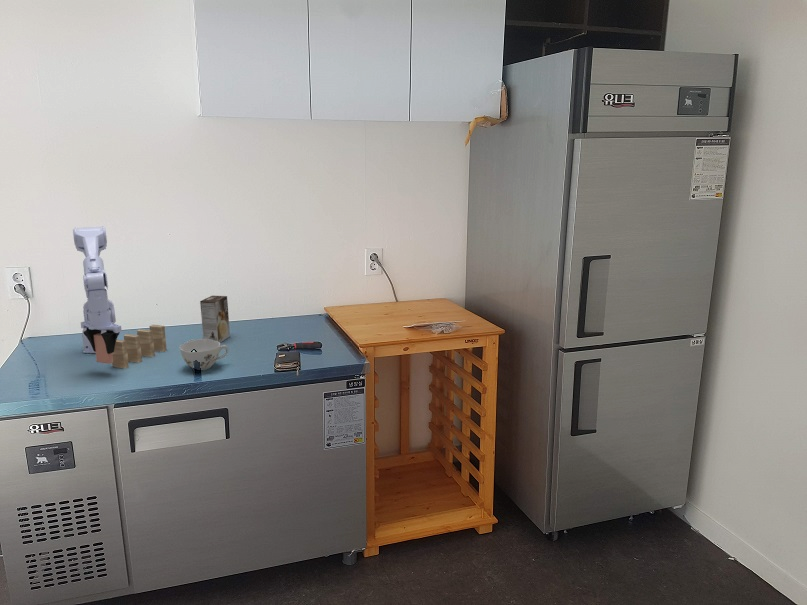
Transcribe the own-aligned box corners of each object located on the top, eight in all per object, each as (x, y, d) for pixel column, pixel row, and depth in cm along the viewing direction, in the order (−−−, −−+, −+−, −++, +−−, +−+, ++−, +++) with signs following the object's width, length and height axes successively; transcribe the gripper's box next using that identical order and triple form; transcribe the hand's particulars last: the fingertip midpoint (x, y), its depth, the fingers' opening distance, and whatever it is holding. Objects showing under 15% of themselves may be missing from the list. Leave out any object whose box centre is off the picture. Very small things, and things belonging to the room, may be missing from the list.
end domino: (109, 363, 196) (105, 336, 194) (96, 361, 198) (93, 334, 196) (113, 362, 198) (110, 335, 196) (101, 360, 199) (98, 333, 197)
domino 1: (124, 368, 203) (121, 342, 200) (112, 366, 204) (109, 340, 202) (128, 366, 204) (125, 340, 202) (116, 364, 206) (113, 339, 204)
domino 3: (151, 357, 213) (148, 332, 211) (139, 355, 215) (136, 330, 213) (154, 355, 215) (152, 330, 213) (143, 353, 217) (140, 329, 215)
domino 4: (163, 351, 219) (160, 327, 217) (151, 350, 221) (149, 325, 218) (166, 350, 221) (164, 326, 218) (155, 348, 222) (153, 324, 220)
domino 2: (138, 362, 208) (135, 337, 206) (126, 360, 210) (123, 335, 207) (142, 360, 210) (139, 335, 207) (130, 359, 211) (127, 333, 209)
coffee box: (215, 335, 238) (212, 294, 234) (230, 336, 236) (227, 295, 232) (202, 342, 229) (199, 300, 225) (218, 344, 228) (215, 301, 224)
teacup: (183, 376, 196) (181, 352, 194) (179, 364, 207) (177, 341, 205) (232, 370, 202) (230, 346, 200) (226, 358, 213) (224, 336, 211)
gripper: (70, 311, 192) (76, 352, 196) (107, 316, 188) (112, 358, 191) (89, 306, 199) (94, 346, 202) (124, 310, 194) (129, 351, 197)
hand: (104, 351), depth 197 cm, fingers closed on end domino, 5 cm apart
